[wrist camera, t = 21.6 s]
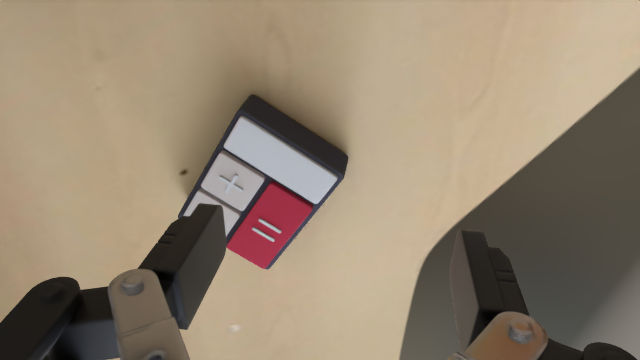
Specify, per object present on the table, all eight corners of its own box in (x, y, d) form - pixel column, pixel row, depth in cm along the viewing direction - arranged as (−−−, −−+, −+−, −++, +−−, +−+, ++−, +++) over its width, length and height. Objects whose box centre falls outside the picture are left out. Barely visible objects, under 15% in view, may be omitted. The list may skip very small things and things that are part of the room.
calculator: (172, 223, 45) (236, 110, 37) (190, 199, 49) (251, 92, 41) (265, 276, 47) (345, 180, 39) (275, 249, 50) (350, 156, 43)
